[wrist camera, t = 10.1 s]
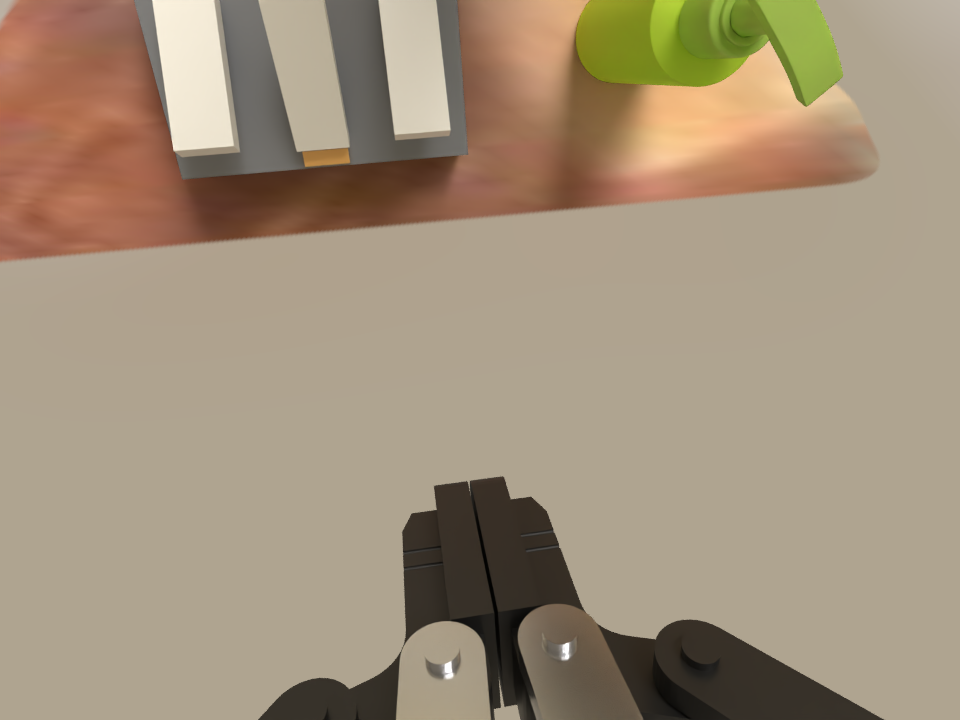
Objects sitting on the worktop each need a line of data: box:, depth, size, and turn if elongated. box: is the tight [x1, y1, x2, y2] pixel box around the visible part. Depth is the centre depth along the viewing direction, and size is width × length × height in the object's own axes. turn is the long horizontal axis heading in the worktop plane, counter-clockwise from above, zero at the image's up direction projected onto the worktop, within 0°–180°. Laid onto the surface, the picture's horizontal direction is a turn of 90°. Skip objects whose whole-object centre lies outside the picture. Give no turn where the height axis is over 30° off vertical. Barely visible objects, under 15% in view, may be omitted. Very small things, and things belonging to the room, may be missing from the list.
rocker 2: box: [258, 0, 350, 152], centre depth 35 cm, size 3×8×1 cm, turn 4°
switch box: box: [134, 0, 468, 179], centre depth 38 cm, size 18×11×5 cm, turn 94°
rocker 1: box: [152, 0, 240, 157], centre depth 34 cm, size 3×8×1 cm, turn 4°
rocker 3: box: [378, 0, 451, 140], centre depth 35 cm, size 3×8×1 cm, turn 4°
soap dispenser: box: [576, 0, 843, 107], centre depth 33 cm, size 6×7×20 cm
